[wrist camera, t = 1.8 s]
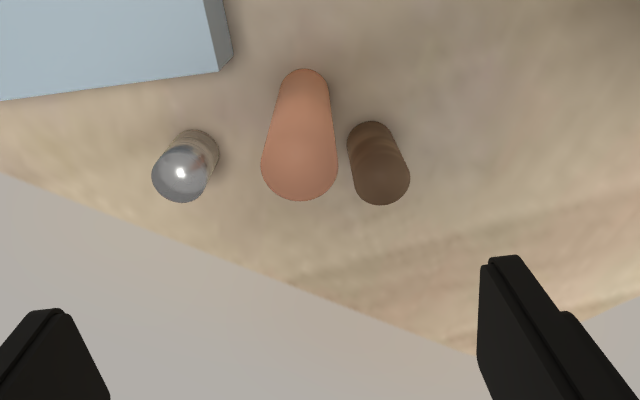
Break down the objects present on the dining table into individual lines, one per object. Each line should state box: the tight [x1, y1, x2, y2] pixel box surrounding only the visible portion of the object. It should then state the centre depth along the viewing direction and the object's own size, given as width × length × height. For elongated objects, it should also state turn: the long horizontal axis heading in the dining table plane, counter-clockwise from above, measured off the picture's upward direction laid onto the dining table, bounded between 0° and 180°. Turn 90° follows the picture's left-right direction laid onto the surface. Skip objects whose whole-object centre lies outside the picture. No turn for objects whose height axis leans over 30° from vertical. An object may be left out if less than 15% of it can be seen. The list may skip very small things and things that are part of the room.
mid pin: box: [347, 121, 410, 205], centre depth 28 cm, size 3×3×6 cm
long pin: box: [261, 69, 338, 201], centre depth 24 cm, size 3×3×12 cm
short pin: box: [151, 130, 219, 203], centre depth 29 cm, size 3×3×4 cm
